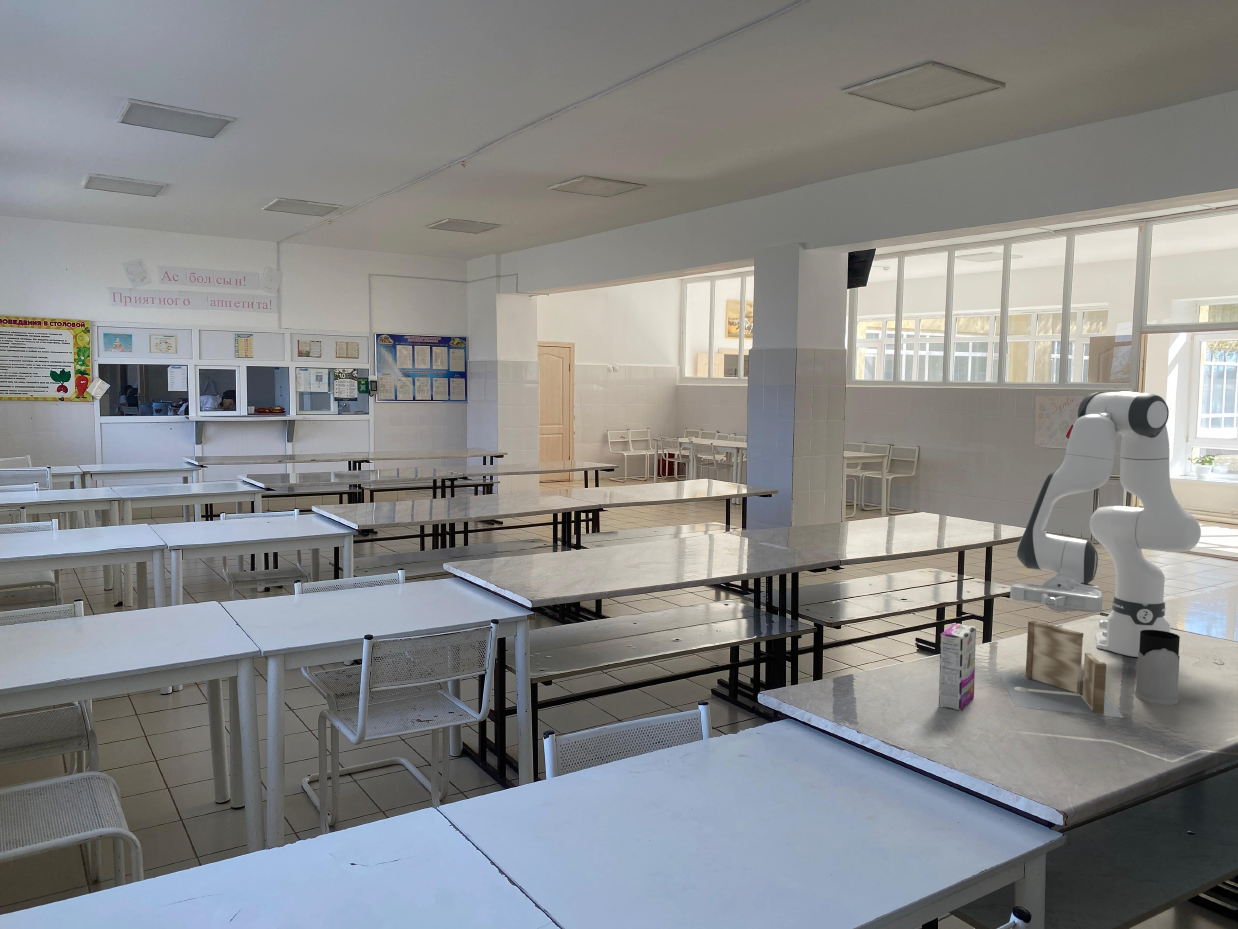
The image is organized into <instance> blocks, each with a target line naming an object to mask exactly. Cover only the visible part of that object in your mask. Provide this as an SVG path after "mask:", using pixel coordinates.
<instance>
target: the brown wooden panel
mask: <svg viewBox="0 0 1238 929" xmlns="http://www.w3.org/2000/svg"><path fill="white" fill-rule="evenodd" d="M1026 638H1027V640H1026V661H1025V674H1026V678H1029V679H1034V680H1037V681H1040V682H1044V683H1047V684H1050V685H1053V686H1057V687H1060V688H1063V689H1066V690H1070V691H1073V692H1076V693H1078V692H1080V681H1081V680H1082V679H1081V678H1082V677H1081V676H1082V660H1083V658H1082V656H1083V644H1084V642H1083V638H1084V632H1080V631H1076V630H1072V629H1068V628H1064V627H1060V626H1056V625H1051V624H1047V623H1043V622H1038V621H1036V620H1030V621H1027V637H1026Z"/></svg>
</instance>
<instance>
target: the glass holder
mask: <svg viewBox="0 0 1238 929" xmlns="http://www.w3.org/2000/svg"><path fill="white" fill-rule="evenodd" d="M1180 638H1181V636H1180V635H1179V634H1177V633H1173V632H1171V631H1170V632H1166V631H1159V630H1142V631H1140V646H1139V652H1138V657H1137V667H1136V670H1137V671H1136V686H1135V687H1136V688H1135V692H1134V693H1133V695H1134V697H1136V698H1138V699H1139V700H1142V701H1145V702H1149V703H1152V704H1159V705H1167V706H1168V705H1169V706H1170V705H1176V704H1179V700H1178V699H1179V698H1178V689H1179V688H1178V687H1179V671H1180V670H1179V669H1180V641H1181V640H1180Z"/></svg>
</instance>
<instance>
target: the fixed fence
mask: <svg viewBox="0 0 1238 929" xmlns="http://www.w3.org/2000/svg"><path fill="white" fill-rule="evenodd" d="M1083 662H1084V663H1083V679H1082V680H1083V681H1080V695H1082V696H1083V698H1084V699H1085V700H1086V701H1087V702H1088V704H1089V705H1090V706H1091V707H1092V708H1093V710H1092V711H1093V712H1094V713H1097V714H1104V699H1105V694H1106V682H1107V681H1106V677H1107V664H1106V662H1105V661H1104V662H1103V661H1102V662H1101V661H1100V660H1098V659H1097V658H1096V656H1094V655H1093V654H1092V653H1090V652H1085V653H1084V661H1083Z"/></svg>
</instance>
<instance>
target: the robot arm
mask: <svg viewBox="0 0 1238 929" xmlns="http://www.w3.org/2000/svg"><path fill="white" fill-rule="evenodd" d="M1077 410H1078V411H1077V419H1076V420H1075V422H1074V424H1073V427H1072V428H1071V431H1070V434H1069V437H1068V441H1067V445H1066V450H1065V455H1064V459H1063V462H1062V463H1061V465H1060V466H1059V468H1057V469H1056V471H1054V472H1050V473H1048V474H1047V476H1046V478H1045V480H1044V482H1043V484H1042V487H1041V489H1040V491H1039V494H1038V495H1037V499H1036V502H1035V503H1034V507H1033V509H1032V512H1031V514H1030V518H1029V520H1028V522H1027V525H1026V527H1025V530H1024V533H1023V534H1022V537H1021V538H1020V540H1019V542H1018V544H1017V548H1016V557H1017V559H1018V561H1019V562H1021V564H1022V565H1023V566H1024V567H1025V568H1026V569H1032V570H1039V571H1042V570H1044V571H1048V572H1051V573H1052V572H1053V573H1057V574H1055V575H1053V576H1051V577H1050V578H1048V579H1047V580H1046V581H1045V582H1044V583H1043V584H1042V585H1039V584H1031V583H1020V582H1019V583H1016V584H1015V583H1014V584H1011V585H1010V590H1009V592H1010V593H1009V594H1010V595H1009V598H1010V599H1011V600H1012V601H1018V602H1024V603H1025V602H1026V603H1031V604H1032V603H1033V604H1039V605H1045V606H1046V607H1047V608H1048V609H1049V610H1052V611H1053V612H1058V613H1067V612H1069V613H1070V612H1085V613H1101V612H1102V611H1103V610H1102V609H1103V597H1104V596H1103V592H1102V591H1101V587H1100V586H1099V585H1095V584H1091V582H1092V581H1094V578H1095V576H1096V573H1097V570H1098V563H1099V562H1098V561H1099V557H1098V556H1099V555H1098V552H1097V549H1096V548H1095V546H1094V545H1093V544H1092V543H1091V541H1090V540H1086V539H1082V538H1075V537H1071V536H1069V537H1068V536H1063V535H1057V534H1052V533H1048V532H1046V530H1045V529H1046V527H1047V524H1048V523H1049V522H1048V521H1049V519H1050V516H1051V513H1052V511H1053V509H1054V506H1055V504H1056V502H1057V501H1058V500H1060V499H1061V498H1064V497H1066V496H1070V495H1074V494H1075V495H1076V494H1081V493H1082V494H1083V493H1087V492H1091V491H1094V490H1097V489H1099V488H1101V487H1102V486H1104V485H1105V484H1106V483H1108V481H1109V480H1110V477H1111V474H1112V471H1113V467H1114V461H1115V455H1116V448H1117V447H1116V445H1117V444H1116V443H1117V442H1116V441H1117V438H1118V437H1119V436H1121V444H1120V460H1119V463H1120V464H1119V472H1120V473H1119V482H1120V484H1121V486H1122V488H1123V489H1124V491H1126V492H1127V493H1129V494H1131V495H1133V496H1135V497H1136V498H1138V499H1139V501H1140V502H1141V504H1142V507H1138V506H1136V507H1135V506H1125V505H1108V506H1100V507H1098V508H1097V509H1096V510H1095V511H1093V513H1092V515H1091V516H1090V519H1089V523H1088V524H1089V525H1088V526H1089V530H1090V533H1091V535H1092V537H1093V538H1094V539H1095V540H1096V541H1097V542H1099V543H1100V544H1101V545H1102V547H1104V549H1105V550H1106V552H1107V553H1108V554H1109V556H1110V559H1111V560H1112V563H1113V565H1114V570H1115V594H1114V596H1113V600H1112V606H1111V612H1110V613H1109V614H1108V615H1107V616H1106V618H1105V620H1100V621H1099V629H1100V630H1104V631H1102V632H1101V631H1100V632H1096V633H1095V642H1096V648H1097V649H1101V650H1105V651H1110V652H1113V653H1116V654H1119V655H1123V656H1128V657H1135V658H1138V652H1139V646H1140V631H1142V630H1159V631H1166V632H1170V633H1171V624H1170V622H1168V621H1167V619H1166V618H1164V616H1165V615H1166V609H1167V608H1166V602H1165V601H1164V600H1165V599H1164V597H1165V583H1166V582H1165V581H1166V580H1165V579H1166V576H1165V574H1164V572H1163V570H1162V569H1161V568H1160V567H1158V566H1157V565H1156V564H1155V563H1152V562H1151V561H1149V560H1148V559H1146V557H1145V556H1144V554H1143V552H1142V550H1148V551H1149V550H1150V551H1157V552H1158V551H1159V552H1165V553H1177V552H1178V553H1181V552H1189V551H1191V550H1193V549H1194V548H1195V547H1196V546H1197V544H1198V543H1199V541H1200V539H1201V534H1202V531H1201V530H1202V529H1201V526H1200V523H1199V521H1198V520H1197V518H1196V517H1195V516H1194V515H1192V514H1191V513H1190V512H1188V511H1187V510H1186V509H1185V508H1184V507H1183V506H1182V505H1181V504H1180V502H1179V501H1178V500H1177V499H1176V496H1175V494H1174V493H1173V490H1172V486H1171V477H1170V441H1169V433H1168V432H1169V431H1168V428H1167V423H1168V420H1169V417H1170V416H1169V412H1170V411H1169V406H1168V404H1167V402H1166V401H1165V400H1164V398H1163V397H1162V396H1160V395H1158V394H1154V393H1151V392H1138V391H1128V390H1127V391H1126V390H1123V391H1111V392H1110V391H1109V392H1105V391H1100V392H1099V391H1098V392H1093V393H1090V394H1088V395H1086V396H1085V397H1084V398H1083V399H1082V401H1081V402H1080V404H1079V406H1078V409H1077Z"/></svg>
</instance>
